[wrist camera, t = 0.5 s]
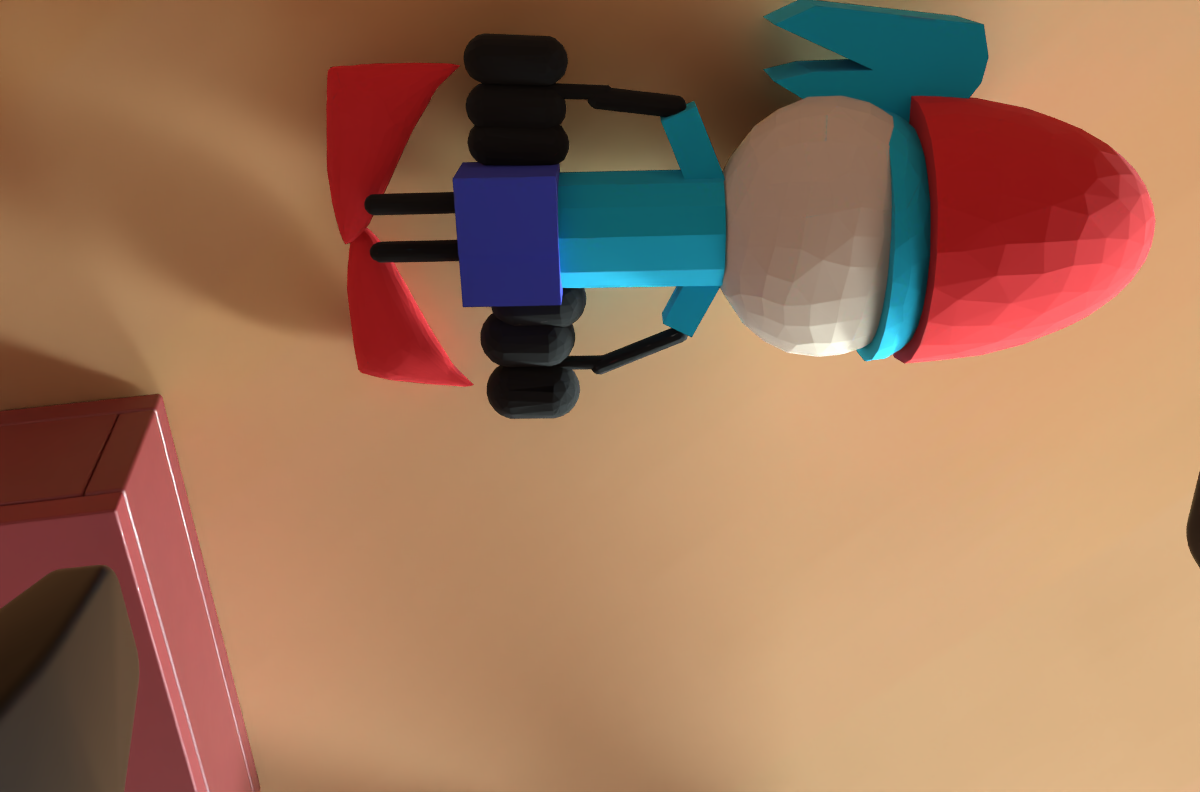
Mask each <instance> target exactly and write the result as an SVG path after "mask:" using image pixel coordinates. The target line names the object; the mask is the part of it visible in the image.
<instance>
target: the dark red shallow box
mask: <svg viewBox="0 0 1200 792" xmlns="http://www.w3.org/2000/svg"><path fill="white" fill-rule="evenodd" d="M118 492H121V493H123V495H124V499H125V502H126V506H127V509H128V513H129V516H130V520H131V523H132V527H133V530H134V534H135V538H136V541H137V545H138V548H139V552H140V555H141V559H142V562H143V566H144V570H145V573H146V577H147V580H148V584H149V587H150V591H151V594H152V598H153V601H154V605H155V609H156V612H157V616H158V619H159V623H160V626H161V630H162V633H163V637H164V641H165V644H166V648H167V651H168V655H169V658H170V662H171V665H172V669H173V672H174V676H175V680H176V683H177V687H178V690H179V694H180V697H181V701H182V704H183V708H184V712H185V715H186V719H187V722H188V726H189V729H190V733H191V736H192V740H193V743H194V747H195V751H196V754H197V758H198V761H199V765H200V768H201V772H202V775H203V779H204V783H205V786H206V790H207V792H260V784H259V780H258V776H257V772H256V768H255V764H254V760H253V757H252V753H251V749H250V745H249V741H248V737H247V733H246V729H245V725H244V721H243V717H242V713H241V709H240V705H239V701H238V697H237V693H236V689H235V685H234V681H233V677H232V673H231V669H230V665H229V661H228V657H227V653H226V649H225V645H224V641H223V637H222V633H221V629H220V625H219V621H218V617H217V613H216V609H215V605H214V601H213V597H212V593H211V589H210V585H209V581H208V577H207V573H206V569H205V565H204V561H203V557H202V553H201V550H200V546H199V542H198V538H197V534H196V530H195V526H194V522H193V518H192V514H191V510H190V506H189V502H188V498H187V494H186V490H185V486H184V482H183V478H182V474H181V470H180V466H179V462H178V458H177V454H176V450H175V446H174V442H173V438H172V434H171V430H170V426H169V422H168V418H167V414H166V410H165V406H164V402H163V398H162V396H161V395H160V394H153V395H144V396H135V397H125V398H116V399H107V400H98V401H89V402H79V403H70V404H61V405H52V406H42V407H33V408H24V409H15V410H6V411H0V506H8V505H17V504H25V503H34V502H42V501H51V500H59V499H67V498H76V497H84V496H93V495H101V494H110V493H118Z"/></svg>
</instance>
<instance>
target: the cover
mask: <svg viewBox="0 0 1200 792" xmlns="http://www.w3.org/2000/svg"><path fill="white" fill-rule="evenodd" d="M93 565H106V566H108V567H110V568H111V569H112V570H113V571H114V572H115V574H116V576H117V578H118V580H119V583H120V587H121V591H122V594H123V598H124V602H125V606H126V610H127V613H128V617H129V621H130V625H131V628H132V632H133V636H134V640H135V644H136V648H137V652H138V659H139V684H138V692H137V699H136V707H135V714H134V722H133V729H132V737H131V744H130V752H129V759H128V766H127V774H126V781H125V789H124V792H207V790H206V786H205V783H204V779H203V775H202V772H201V768H200V765H199V761H198V758H197V754H196V751H195V747H194V743H193V740H192V736H191V733H190V729H189V726H188V722H187V719H186V715H185V712H184V708H183V704H182V701H181V697H180V694H179V690H178V687H177V683H176V680H175V676H174V672H173V669H172V665H171V662H170V658H169V655H168V651H167V648H166V644H165V641H164V637H163V633H162V630H161V626H160V623H159V619H158V616H157V612H156V609H155V605H154V601H153V598H152V594H151V591H150V587H149V584H148V580H147V577H146V573H145V570H144V566H143V562H142V559H141V555H140V552H139V548H138V545H137V541H136V538H135V534H134V530H133V527H132V523H131V520H130V516H129V513H128V509H127V506H126V502H125V499H124V495H123V493H121V492H118V493H110V494H101V495H93V496H84V497H76V498H67V499H59V500H51V501H42V502H34V503H25V504H17V505H8V506H0V609H1V608H2V607H4V606H5V605H6V604H8V603H9V602H10V601H12V600H13V599H14V598H16V597H17V596H19V595H20V594H21V593H23V592H24V591H25V590H27V589H28V588H29V587H31V586H32V585H34V584H35V583H36V582H38V581H39V580H40V579H42V578H43V577H44V576H46V575H47V574H49V573H50V572H52V571H55V570H58V569H65V568H74V567H83V566H93Z"/></svg>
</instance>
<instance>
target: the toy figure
mask: <svg viewBox="0 0 1200 792" xmlns="http://www.w3.org/2000/svg"><path fill="white" fill-rule="evenodd" d="M763 17H764V18H766V19H767V20H769V21H770V22H771V23H773V24H774V25H776V26H778V27H781V28H783V29H785V30H787V31H789V32H791V33H794V34H796V35H798V36H800V37H802V38H805V39H807V40H809V41H811V42H813V43H815V44H818V45H820V46H822V47H824V48H826V49H828V50H831V51H833V52H835V53H837V54H839V55H842V56H844V57H846V58H848V59H840V60H813V61H795V62H791V63H787V64H783V65H779V66H774V67H770V68H766V69H763V70H764V71H765V72H766V73H767V74H768V75H769V77H770V78H771V79H772V80H773V81H774V82H776V83H778V84H779V85H781V86H782V87H784V88H786V89H787V90H789V91H791V92H792V93H794V94H796V95H797V96H799V97H800V98H802V100H799V101H797V102H794V103H792V104H789V105H787V106H784V107H782V108H780V109H777V110H776V111H775V112H773V113H772V114H770V115H769V116H768V117H766V118H765V119H763V120H762V121H761V122H759V123H758V124H756V125H755V126H754V127H753V128H752V130H751V131H750V132H749V133H748V135H747V136H746V137H745V139H744V140H743V141H742V142H741V144H740V145H739V146H738V148H737V149H736V150H735V151H734V153H733V154H732V155H731V157H730V158H729V160H728V162H727V164H726V166H725V169H724V171H723V172H722V169H721V167H720V165H719V162H718V160H717V157H716V155H715V152H714V150H713V147H712V145H711V142H710V139H709V137H708V134H707V132H706V129H705V127H704V124H703V122H702V119H701V117H700V114H699V112H698V109H697V106H696V104H695V102H694V101H692V102H690V103H688V104H686V102H685V100H684V99H683V98H682V97H681V96H677V95H669V94H660V93H651V92H643V91H634V90H625V89H617V88H611V87H610V86H609V85H587V84H559V83H556V82H557V81H558V80H560V79H561V78H562V77H563V76H564V74H565V71H566V68H567V64H568V58H567V53H566V51H565V49H564V47H563V45H562V44H561V43H560V42H559V41H557V40H556V39H555V38H553V37H550V36H530V35H506V34H481V35H477V36H476V37H475V38H473V39H472V40H471V41H470V42H469V43H468V45H467V46H466V49H465V52H464V63H465V68H466V70H467V72H468V73H469V75H470V76H471V77H472V78H473V79H475V80H477V81H479V82H481V84H479V85H477V86H476V87H475V88H473V89H472V91H471V92H470V93H469V95H468V97H467V100H466V111H467V115H468V117H469V119H470V120H471V121H472V123H473V124H474V125H475V126H474V127H473V128H472V129H471V130H470V133H469V137H468V147H469V151H470V153H471V155H472V156H473V158H474V159H475V160H476V161H477V162H463V163H462V164H461V166H460V168H459V169H458V171H457V172H456V174H455V176H454V177H453V190H454V192H441V193H402V194H384V193H385V190H386V188H387V186H388V184H389V182H390V179H391V177H392V175H393V172H394V170H395V168H396V166H397V163H398V161H399V159H400V157H401V155H402V153H403V150H404V148H405V146H406V144H407V142H408V140H409V138H410V136H411V134H412V132H413V130H414V128H415V126H416V124H417V122H418V120H419V119H420V117H421V115H422V114H423V112H424V110H425V109H426V107H427V105H428V104H429V102H430V100H431V98H432V96H433V94H434V93H435V91H436V89H437V88H438V87H439V86H440V85H441V84H442V83H443V82H444V81H445V80H446V79H447V78H448V77H449V76H450V75H451V74H452V73H453V72H454V71H455V70H456V69H458V68H459V67H460V66H459V65H456V64H449V63H388V64H385V63H375V64H360V65H354V66H336V67H331V68H330V69H329V70H328V75H327V104H326V114H327V173H328V179H329V185H330V191H331V198H332V204H333V208H334V213H335V217H336V220H337V224H338V227H339V231H340V234H341V236H342V239H343V241H344V243H345V244H348V243H350V249H349V260H348V274H347V293H348V302H349V311H350V319H351V326H352V333H353V342H354V348H355V354H356V359H357V365H358V370H359V371H360V372H361V373H364V374H368V375H371V376H375V377H380V378H384V379H388V380H395V381H405V382H414V383H424V384H436V385H451V386H463V387H466V386H472V385H474V384H473V383H471V382H470V381H469V380H468V379H467V378H466V377H465V376H464V375H463V374H462V373H461V372H460V371H459V370H458V369H457V368H456V367H455V366H454V365H453V364H452V362H451V360H450V359H449V357H448V356H447V354H446V352H445V351H444V349H443V348H442V346H441V345H440V343H439V341H438V340H437V338H436V336H435V335H434V333H433V332H432V330H431V328H430V327H429V325H428V323H427V321H426V320H425V318H424V316H423V314H422V312H421V311H420V309H419V307H418V305H417V304H416V302H415V300H414V298H413V296H412V295H411V293H410V291H409V289H408V287H407V286H406V284H405V282H404V280H403V278H402V277H401V275H400V273H399V271H398V269H397V268H396V266H395V264H394V262H437V261H459V263H460V276H461V289H462V302H463V307H492V310H493V313H492V314H491V315H490V316H489V317H488V318H487V320H486V321H485V322H484V324H483V327H482V330H481V345H482V348H483V350H484V353H485V354H486V355H487V356H488V357H489V358H490V359H491V361H492V362H494V363H496V364H498V365H500V366H499V367H497V368H496V369H495V370H494V371H493V373H492V374H491V376H490V377H489V380H488V383H487V396H488V400H489V403H490V404H491V406H492V407H493V408H494V409H495V411H497V412H498V413H499V414H500V415H502V416H505V417H507V418H510V419H524V418H557V417H560V416H563V415H565V414H566V413H568V412H569V411H570V410H571V409H572V408H573V407H574V406H575V404H576V402H577V400H578V398H579V393H580V386H579V381H578V378H577V376H576V374H575V372H574V371H573V370H572V369H592V371H593V372H594V373H596V374H603V373H606V372H608V371H611V370H613V369H616V368H618V367H621V366H623V365H626V364H628V363H631V362H633V361H636V360H638V359H641V358H643V357H646V356H648V355H651V354H653V353H656V352H658V351H661V350H663V349H666V348H668V347H671V346H673V345H676V344H678V343H681V342H683V341H685V340H686V339H687V336H690V337H692V336H693V334H694V332H695V331H696V329H697V327H698V325H699V323H700V322H701V320H702V318H703V316H704V315H705V313H706V311H707V309H708V307H709V306H710V304H711V302H712V300H713V299H714V297H715V295H716V293H717V291H718V290H719V288H721V290H722V292H723V294H724V295H725V297H726V298H727V300H728V301H729V303H730V304H731V306H732V307H733V309H734V310H735V312H736V313H737V315H738V317H739V318H740V320H741V321H742V323H743V324H744V325H746V326H747V327H748V328H749V329H750V330H751V331H753V332H754V333H755V334H756V335H757V336H758V337H760V338H761V339H762V340H763V341H765V342H767V343H769V344H771V345H773V346H775V347H777V348H779V349H781V350H783V351H785V352H787V353H794V354H802V355H810V356H818V357H819V356H829V355H840V354H844V353H847V352H850V351H854V350H857V352H858V354H859V355H860V356H861V357H862V358H863V359H864V361H870V360H877V359H884V358H886V357H888V356H890V355H892V354H893V356H894V357H895V358H896V359H898V360H900V361H901V362H903V363H914V362H925V361H936V360H946V359H953V358H961V357H969V356H977V355H983V354H987V353H991V352H995V351H999V350H1003V349H1007V348H1010V347H1014V346H1018V345H1022V344H1025V343H1027V342H1030V341H1032V340H1035V339H1037V338H1040V337H1042V336H1045V335H1047V334H1050V333H1052V332H1055V331H1058V330H1060V329H1063V328H1065V327H1067V326H1069V325H1071V324H1073V323H1075V322H1077V321H1079V320H1081V319H1083V318H1085V317H1087V316H1089V315H1090V314H1091V313H1093V312H1094V311H1096V310H1097V309H1099V308H1100V307H1101V306H1103V305H1104V304H1106V303H1107V302H1108V301H1110V300H1111V299H1112V298H1114V297H1115V296H1116V295H1117V294H1118V293H1119V292H1120V291H1121V290H1122V289H1123V288H1124V287H1125V286H1126V285H1127V284H1128V283H1129V282H1130V281H1131V280H1132V279H1133V277H1134V276H1135V275H1136V273H1137V272H1138V270H1139V269H1140V268H1141V266H1142V265H1143V263H1144V262H1145V260H1146V257H1147V255H1148V253H1149V250H1150V248H1151V244H1152V240H1153V235H1154V228H1155V215H1154V209H1153V204H1152V201H1151V198H1150V196H1149V193H1148V191H1147V188H1146V186H1145V184H1144V182H1143V181H1142V179H1141V178H1140V176H1139V175H1138V173H1137V172H1136V170H1135V169H1134V168H1133V167H1132V166H1131V165H1130V164H1129V163H1128V162H1127V161H1126V160H1125V159H1124V158H1123V157H1122V156H1121V155H1120V154H1119V153H1117V152H1116V151H1115V150H1114V149H1113V148H1111V147H1110V146H1109V145H1108V144H1106V143H1104V142H1103V141H1101V140H1099V139H1097V138H1096V137H1094V136H1092V135H1091V134H1089V133H1087V132H1086V131H1084V130H1082V129H1080V128H1078V127H1075V126H1073V125H1070V124H1068V123H1065V122H1063V121H1060V120H1058V119H1055V118H1053V117H1050V116H1047V115H1044V114H1041V113H1039V112H1036V111H1033V110H1030V109H1027V108H1023V107H1018V106H1013V105H1008V104H1003V103H998V102H993V101H988V100H983V99H978V98H970V96H971V95H972V94H973V93H974V91H975V90H976V89H977V88H978V86H979V85H980V84H981V82H982V78H983V75H984V71H985V68H986V64H987V61H988V50H987V43H986V36H985V29H984V24H981V23H977V22H974V21H971V20H968V19H964V18H961V17H958V16H952V15H943V14H934V13H925V12H916V11H908V10H899V9H890V8H881V7H872V6H863V5H854V4H845V3H836V2H827V1H818V0H797V1H795V2H793V3H791V4H789V5H786V6H784V7H782V8H780V9H778V10H776V11H774V12H772V13H770V14H767V15H765V16H763ZM565 99H585V100H588V103H589V104H590V106H591V107H593V108H594V109H601V110H609V111H618V112H627V113H635V114H644V115H653V116H660V118H661V122H662V125H663V127H664V130H665V132H666V135H667V137H668V140H669V142H670V145H671V147H672V149H673V152H674V154H675V157H676V159H677V162H678V164H679V167H680V169H681V170H648V171H603V172H560V165H559V163H560V162H562V161H563V160H564V159H565V157H566V155H567V153H568V150H569V140H568V136H567V134H566V132H565V131H564V129H563V128H562V126H560V124H561V123H562V121H563V120H564V118H565V114H566V103H565ZM448 213H455V216H456V229H457V240H435V241H389V242H381V241H380V240H379V239H378V238H377V236H375V235H374V234H373V233H372V232H371V231H370V230H369V229H368V228H367V226H368V225H369V223H370V221H371V219H372V217H373V215H407V214H448ZM665 286H677V287H676V288H675V290H674V292H673V294H672V296H671V298H670V299H669V301H668V303H667V305H666V307H665V309H664V310H663V312H662V318H663V324H665V325H667V326H669V327H671V328H670V329H668V330H665V331H663V332H660V333H658V334H655V335H653V336H650V337H648V338H645V339H643V340H640V341H638V342H635V343H633V344H630V345H628V346H625V347H623V348H620V349H618V350H615V351H613V352H610V353H608V354H605V355H601V356H569V354H570V352H571V350H572V348H573V346H574V342H575V332H574V328H573V325H572V324H573V323H574V322H575V321H577V320H578V319H579V317H580V316H581V315H582V313H583V311H584V308H585V305H586V292H585V289H584V288H608V287H665Z"/></svg>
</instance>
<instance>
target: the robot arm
mask: <svg viewBox="0 0 1200 792" xmlns="http://www.w3.org/2000/svg"><path fill="white" fill-rule="evenodd" d="M1187 541H1188V546H1189V549H1190V551H1191V554H1192V556H1193V558H1194V559H1195V561H1196V563H1197V564H1198V566H1199V568H1200V472H1199V476H1198V480H1197V484H1196V489H1195V493H1194V497H1193V501H1192V505H1191V509H1190V513H1189V518H1188V522H1187ZM138 684H139V659H138V652H137V648H136V644H135V640H134V636H133V632H132V628H131V625H130V621H129V617H128V613H127V610H126V606H125V602H124V598H123V594H122V591H121V587H120V583H119V580H118V578H117V576H116V574H115V572H114V571H113V570H112V569H111V568H110V567H108V566H106V565H93V566H83V567H74V568H65V569H58V570H55V571H52V572H50V573H49V574H47V575H46V576H44V577H43V578H42V579H40V580H39V581H38V582H36V583H35V584H34V585H32V586H31V587H29V588H28V589H27V590H25V591H24V592H23V593H21V594H20V595H19V596H17V597H16V598H14V599H13V600H12V601H10V602H9V603H8V604H6V605H5V606H4V607H2V608H1V609H0V792H124V789H125V781H126V774H127V766H128V759H129V752H130V744H131V737H132V729H133V722H134V714H135V707H136V699H137V692H138Z"/></svg>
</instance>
